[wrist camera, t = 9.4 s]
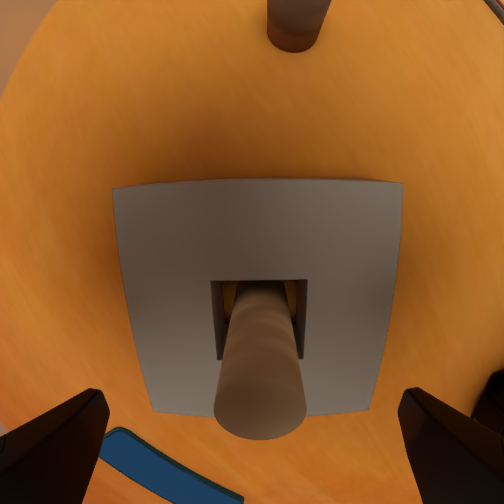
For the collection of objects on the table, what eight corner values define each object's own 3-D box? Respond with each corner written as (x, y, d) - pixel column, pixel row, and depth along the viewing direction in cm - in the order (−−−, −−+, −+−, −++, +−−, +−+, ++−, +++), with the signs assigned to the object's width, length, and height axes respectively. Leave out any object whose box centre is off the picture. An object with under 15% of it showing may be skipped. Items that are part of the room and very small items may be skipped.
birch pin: (285, 267, 16) (310, 377, 7) (284, 312, 17) (302, 438, 8) (235, 268, 16) (208, 377, 7) (237, 312, 17) (218, 438, 8)
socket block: (373, 179, 14) (403, 183, 11) (354, 373, 18) (368, 409, 14) (142, 183, 15) (112, 188, 12) (168, 375, 18) (153, 411, 15)
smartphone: (120, 426, 20) (248, 504, 22) (124, 418, 20) (249, 496, 23) (85, 447, 21) (200, 516, 23) (89, 441, 22) (201, 510, 24)
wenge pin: (312, 13, 12) (327, -39, 7) (320, 51, 13) (342, 5, 8) (264, 15, 12) (263, -39, 7) (270, 53, 13) (272, 5, 8)
